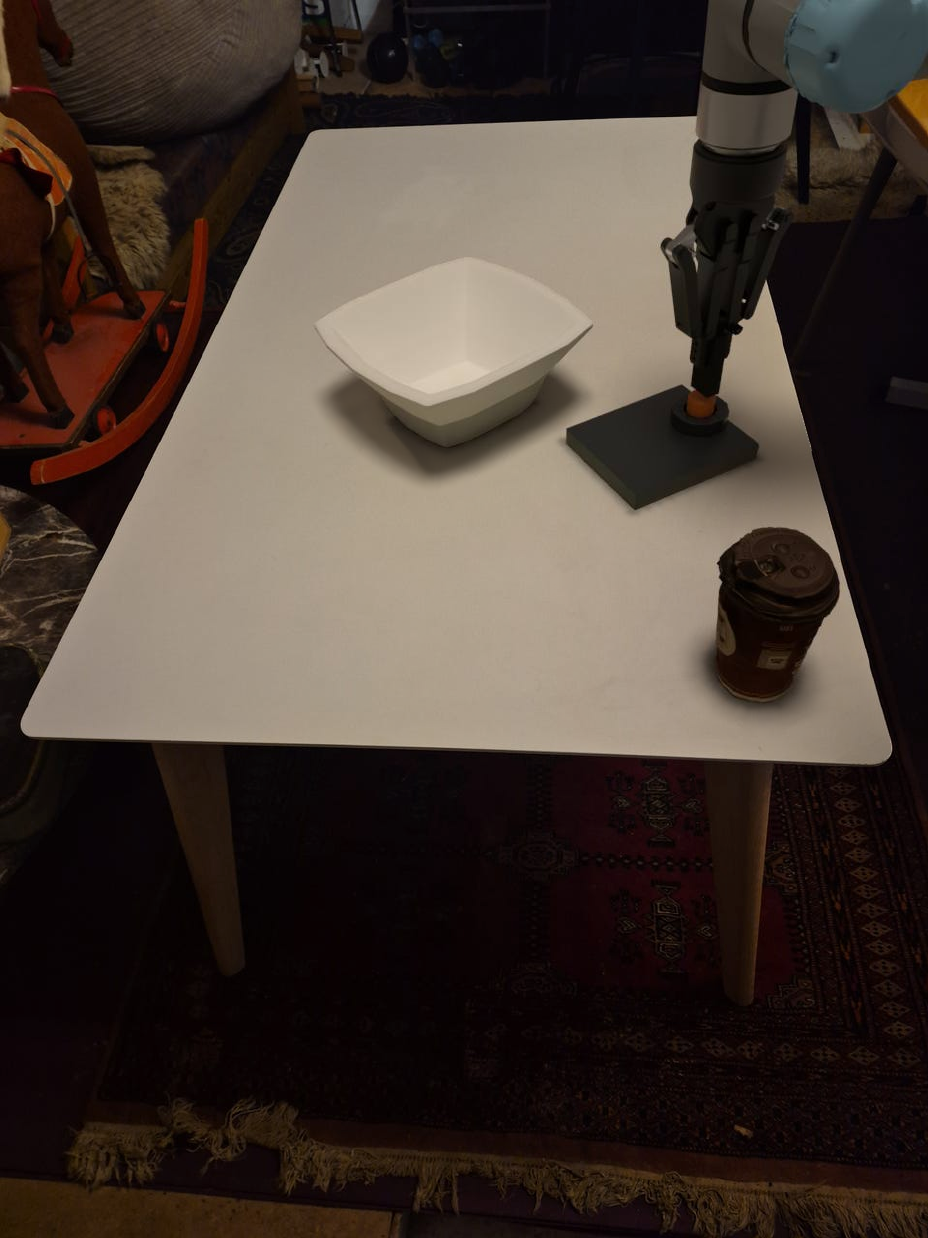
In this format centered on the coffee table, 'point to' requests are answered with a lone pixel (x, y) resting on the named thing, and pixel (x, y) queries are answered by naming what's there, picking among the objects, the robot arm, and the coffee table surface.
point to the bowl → (455, 345)
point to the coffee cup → (770, 609)
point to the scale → (660, 446)
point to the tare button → (700, 405)
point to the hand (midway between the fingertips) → (704, 389)
